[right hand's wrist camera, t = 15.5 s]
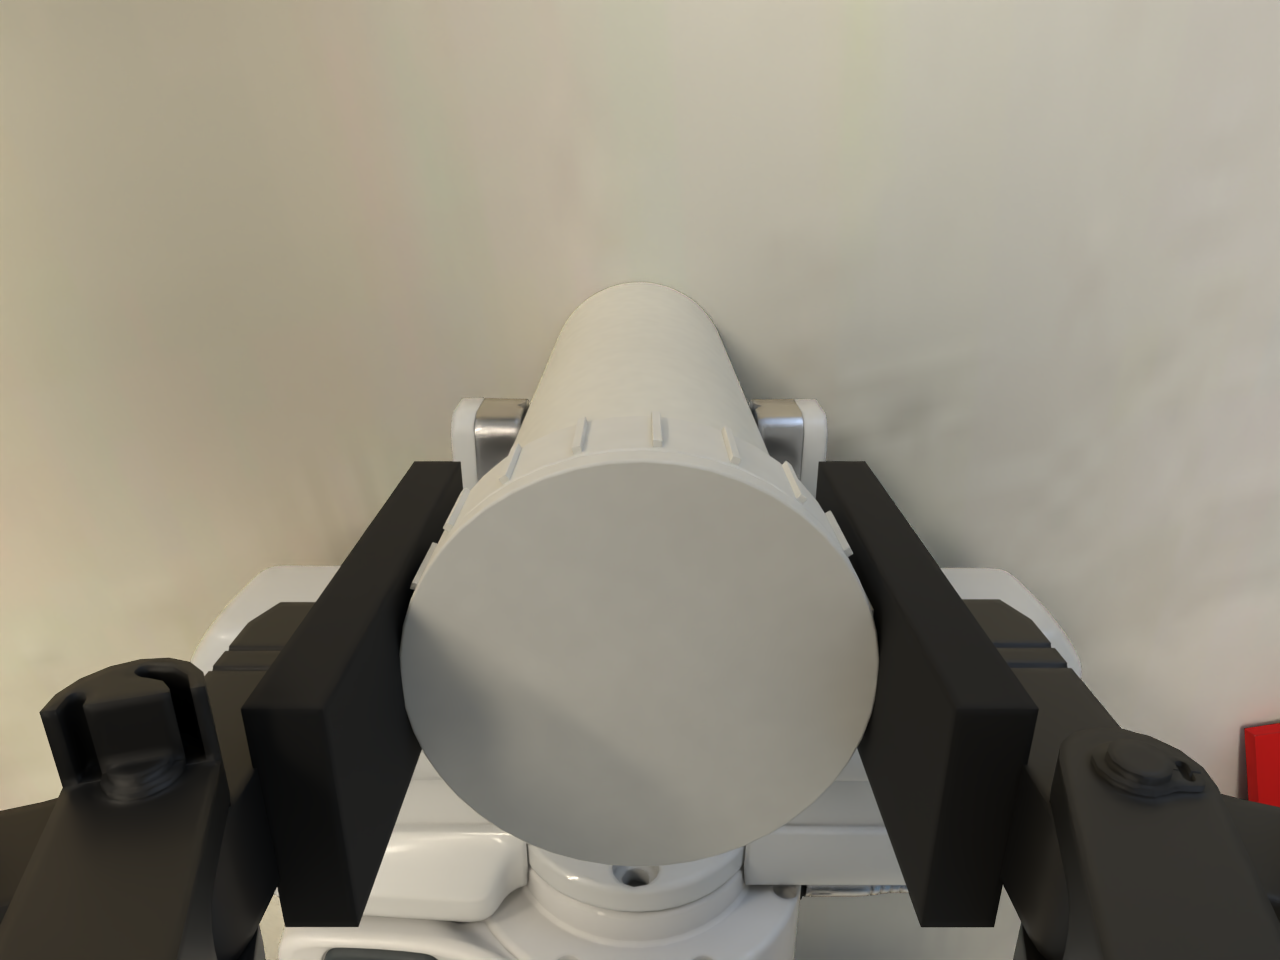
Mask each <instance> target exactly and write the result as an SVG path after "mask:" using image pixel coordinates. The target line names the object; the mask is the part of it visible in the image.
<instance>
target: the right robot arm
mask: <svg viewBox="0 0 1280 960" xmlns="http://www.w3.org/2000/svg"><path fill="white" fill-rule="evenodd" d="M462 490H463V482H462V470H461V461H414V463H413V464H412V466H411V467H410V469H409V470H408V471H407V473H406V474H405V476H404V477H403V478H402V480H401V481H400V483H399V484H398V486H397V487H396V488H395V490H394V491H393V493H392V494H391V496H390V497H389V498H388V500H387V501H386V503H385V504H384V505H383V507H382V508H381V510H380V511H379V513H378V514H377V515H376V517H375V518H374V520H373V521H372V523H371V524H370V525H369V527H368V528H367V530H366V531H365V532H364V534H363V535H362V537H361V538H360V540H359V541H358V542H357V544H356V545H355V547H354V548H353V550H352V551H351V552H350V554H349V555H348V557H347V558H346V559H345V561H344V562H343V564H342V565H341V567H340V568H339V569H338V571H337V572H336V574H335V575H334V577H333V578H332V579H331V581H330V582H329V584H328V585H327V586H326V588H325V589H324V591H323V592H322V594H321V595H320V596H319V598H318V599H317V601H316V602H280V603H278V604H276V605H275V606H273V607H272V608H270V609H269V610H267V611H265V612H264V613H262V614H261V615H259V616H258V617H256V618H254V619H253V620H251V621H250V622H248V623H247V625H246V626H245V627H244V628H243V629H242V631H241V632H240V633H239V634H238V636H237V637H236V638H235V639H234V640H233V642H232V643H231V644H230V645H229V651H225V652H224V653H223V654H222V655H221V656H220V658H219V659H218V660H217V661H216V663H215V664H214V665H213V670H212V671H208V672H207V674H206V675H205V676H204V673H203V671H201V670H200V669H199V668H198V667H196V666H195V665H194V664H192V663H191V662H187V661H182V660H177V659H172V658H156V659H140V660H136V661H131V662H127V663H123V664H119V665H114V666H110V667H108V668H105V669H103V670H100V671H98V672H95V673H93V674H90V675H88V676H86V677H83V678H81V679H79V680H77V681H76V682H74V683H73V684H71V685H70V686H68V687H66V688H65V689H63V690H62V691H60V692H59V693H57V694H56V695H55V696H54V697H53V698H52V699H51V700H50V701H49V702H48V703H47V705H46V706H45V707H44V708H43V709H42V710H41V711H40V715H41V718H42V722H43V725H44V728H45V731H46V735H47V738H48V741H49V744H50V747H51V751H52V754H53V757H54V760H55V764H56V767H57V770H58V773H59V776H60V780H61V783H62V786H63V789H62V791H61V793H60V795H59V797H58V798H56V799H52V800H48V801H45V802H41V803H36V804H31V805H26V806H22V807H17V808H12V809H8V810H3V811H0V960H266V959H265V952H264V946H263V940H262V935H261V931H260V926H259V923H260V921H261V919H262V917H263V915H264V913H265V911H266V909H267V907H268V905H269V903H270V901H271V899H272V897H273V894H274V892H275V890H276V888H277V889H278V893H279V898H280V903H281V908H282V913H283V918H284V923H285V927H359V924H360V921H361V918H362V916H363V913H364V910H365V907H366V904H367V902H368V899H369V896H370V893H371V890H372V888H373V885H374V882H375V879H376V877H377V874H378V871H379V868H380V865H381V863H382V860H383V857H384V854H385V851H386V849H387V846H388V843H389V840H390V837H391V835H392V832H393V829H394V826H395V823H396V821H397V818H398V815H399V812H400V809H401V807H402V804H403V801H404V798H405V795H406V793H407V790H408V787H409V784H410V781H411V779H412V776H413V773H414V770H415V768H416V765H417V762H418V759H419V756H420V754H421V751H422V748H421V746H420V744H419V742H418V740H417V738H416V736H415V734H414V732H413V729H412V726H411V723H410V720H409V717H408V715H407V712H406V709H405V701H404V694H403V686H402V678H401V668H400V656H399V650H400V643H401V635H402V628H403V623H404V620H405V617H406V613H407V610H408V606H409V603H410V600H411V597H412V595H413V593H414V591H415V590H412V589H410V587H411V584H412V581H413V579H414V577H415V575H416V573H417V571H418V570H419V568H420V566H421V564H422V562H423V560H424V558H425V556H426V554H427V552H428V550H429V548H430V546H431V544H432V543H433V542H434V543H437V544H438V542H439V540H440V538H441V536H442V534H443V532H444V530H445V529H443V527H444V525H445V523H446V521H447V519H448V517H449V515H450V513H451V511H452V509H453V507H454V505H455V503H456V501H457V499H458V497H459V495H460V493H461V491H462ZM816 501H817V502H818V503H819V505H820V507H821V508H822V510H823V511H824V513H826V512H828V511H831V512H832V514H833V516H834V517H835V519H836V521H837V523H838V525H839V527H840V529H841V531H842V533H843V535H844V537H845V538H846V540H847V542H848V544H849V546H850V548H851V550H852V552H853V554H852V555H851V556H849V557H848V558H849V560H850V562H851V564H852V566H853V568H854V570H855V572H856V574H857V576H858V578H859V580H860V583H861V585H862V587H863V589H864V591H865V593H866V595H867V597H868V599H869V601H870V603H871V605H872V607H873V609H874V615H873V618H874V622H875V626H876V630H877V637H878V648H879V670H878V678H877V687H876V695H875V701H874V706H873V710H872V714H871V717H870V719H869V722H868V724H867V727H866V730H865V732H864V735H863V738H862V739H861V741H860V743H859V745H858V747H857V749H858V752H859V755H860V758H861V761H862V763H863V766H864V769H865V772H866V775H867V777H868V780H869V783H870V786H871V789H872V791H873V794H874V797H875V800H876V803H877V805H878V808H879V811H880V814H881V817H882V819H883V822H884V825H885V828H886V831H887V833H888V836H889V839H890V842H891V844H892V847H893V850H894V853H895V856H896V858H897V861H898V864H899V867H900V870H901V872H902V875H903V878H904V881H905V884H906V886H907V889H908V892H909V895H910V898H911V900H912V903H913V906H914V909H915V912H916V914H917V917H918V920H919V923H920V926H921V927H994V925H995V920H996V915H997V910H998V905H999V900H1000V896H1001V891H1002V886H1003V885H1004V887H1005V889H1006V891H1007V893H1008V895H1009V897H1010V899H1011V901H1012V903H1013V906H1014V908H1015V910H1016V912H1017V914H1018V916H1019V918H1020V920H1021V926H1020V931H1019V935H1018V940H1017V944H1016V949H1015V953H1014V958H1013V960H1280V807H1276V806H1271V805H1267V804H1262V803H1257V802H1252V801H1248V800H1243V799H1238V798H1234V797H1231V796H1227V795H1223V794H1220V791H1219V789H1218V787H1217V786H1216V784H1215V783H1214V782H1213V780H1212V779H1211V778H1210V776H1209V775H1208V774H1207V772H1206V771H1205V770H1204V768H1203V767H1202V766H1200V765H1199V764H1198V763H1196V762H1195V761H1194V760H1192V759H1191V758H1190V757H1188V756H1187V755H1185V754H1184V753H1183V752H1181V751H1180V750H1178V749H1176V748H1174V747H1172V746H1170V745H1168V744H1166V743H1163V742H1161V741H1159V740H1157V739H1155V738H1153V737H1150V736H1147V735H1143V734H1139V733H1135V732H1132V731H1128V730H1124V729H1121V728H1120V727H1119V725H1118V724H1117V723H1116V722H1115V720H1114V719H1113V718H1112V717H1111V716H1110V714H1109V713H1108V712H1107V711H1106V709H1105V708H1104V707H1103V706H1102V705H1101V703H1100V702H1099V701H1098V700H1097V699H1096V697H1095V696H1094V695H1093V694H1092V692H1091V691H1090V690H1089V689H1088V688H1087V686H1086V685H1085V684H1084V683H1083V681H1082V680H1081V679H1080V678H1079V677H1078V675H1077V674H1076V673H1075V672H1074V670H1073V669H1072V668H1068V667H1067V662H1066V661H1065V659H1064V658H1063V657H1062V656H1061V655H1060V653H1059V652H1058V651H1057V650H1056V649H1055V648H1051V642H1050V641H1049V640H1048V639H1047V638H1046V636H1045V635H1044V634H1043V633H1042V631H1041V630H1040V629H1039V628H1038V627H1037V625H1036V624H1035V623H1034V622H1033V620H1032V619H1030V618H1029V617H1027V616H1025V615H1024V614H1022V613H1021V612H1019V611H1017V610H1016V609H1014V608H1013V607H1011V606H1009V605H1008V604H1006V603H1005V602H1003V601H1001V600H1000V599H961V597H960V596H959V594H958V593H957V592H956V590H955V589H954V587H953V586H952V584H951V583H950V582H949V580H948V579H947V577H946V576H945V574H944V573H943V572H942V570H941V569H940V567H939V566H938V565H937V563H936V562H935V560H934V559H933V557H932V556H931V555H930V553H929V552H928V550H927V549H926V547H925V546H924V545H923V543H922V542H921V540H920V539H919V538H918V536H917V535H916V533H915V532H914V530H913V529H912V528H911V526H910V525H909V523H908V522H907V520H906V519H905V518H904V516H903V515H902V513H901V512H900V511H899V509H898V508H897V506H896V505H895V503H894V502H893V501H892V499H891V498H890V496H889V495H888V493H887V492H886V491H885V489H884V488H883V486H882V485H881V484H880V482H879V481H878V479H877V478H876V476H875V475H874V474H873V472H872V471H871V469H870V468H869V466H868V465H867V464H866V462H865V461H819V463H818V475H817V487H816Z"/></svg>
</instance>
